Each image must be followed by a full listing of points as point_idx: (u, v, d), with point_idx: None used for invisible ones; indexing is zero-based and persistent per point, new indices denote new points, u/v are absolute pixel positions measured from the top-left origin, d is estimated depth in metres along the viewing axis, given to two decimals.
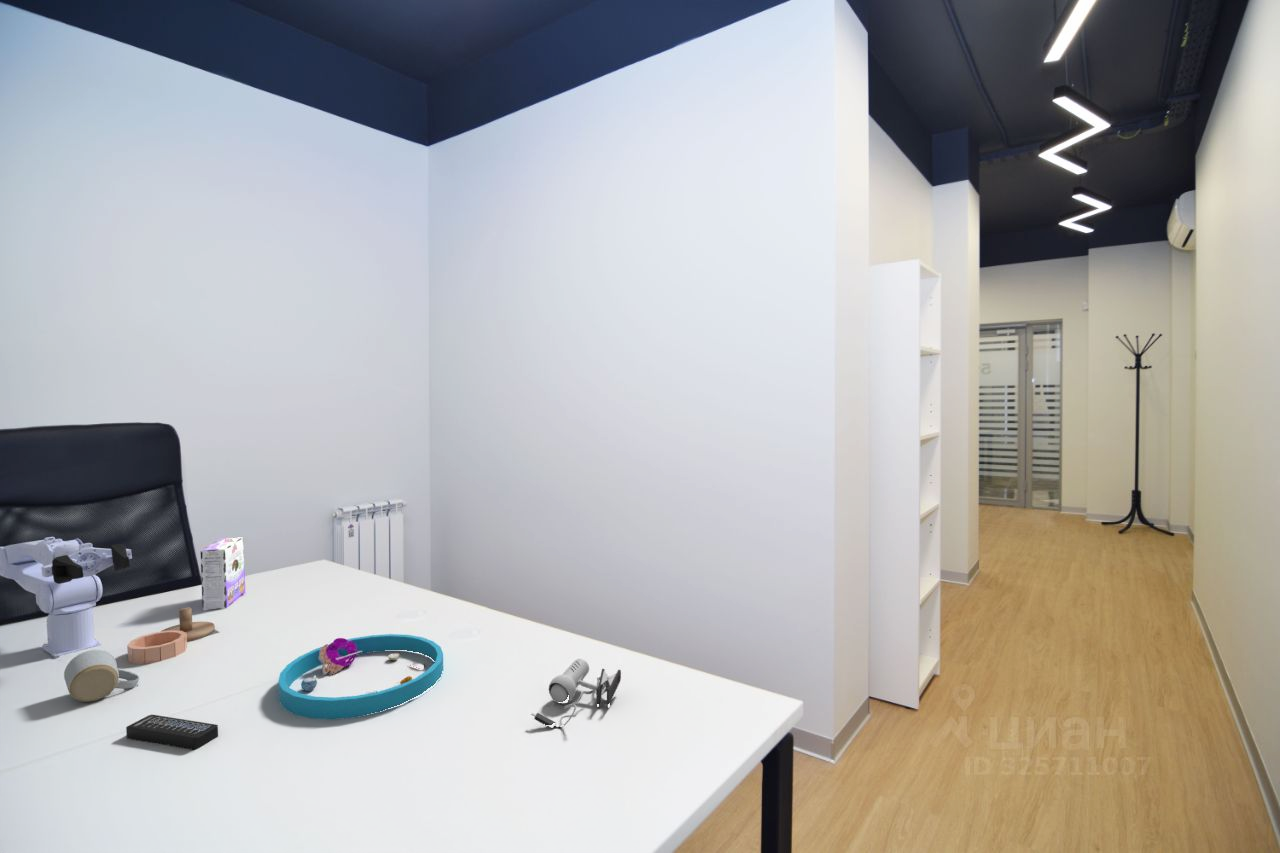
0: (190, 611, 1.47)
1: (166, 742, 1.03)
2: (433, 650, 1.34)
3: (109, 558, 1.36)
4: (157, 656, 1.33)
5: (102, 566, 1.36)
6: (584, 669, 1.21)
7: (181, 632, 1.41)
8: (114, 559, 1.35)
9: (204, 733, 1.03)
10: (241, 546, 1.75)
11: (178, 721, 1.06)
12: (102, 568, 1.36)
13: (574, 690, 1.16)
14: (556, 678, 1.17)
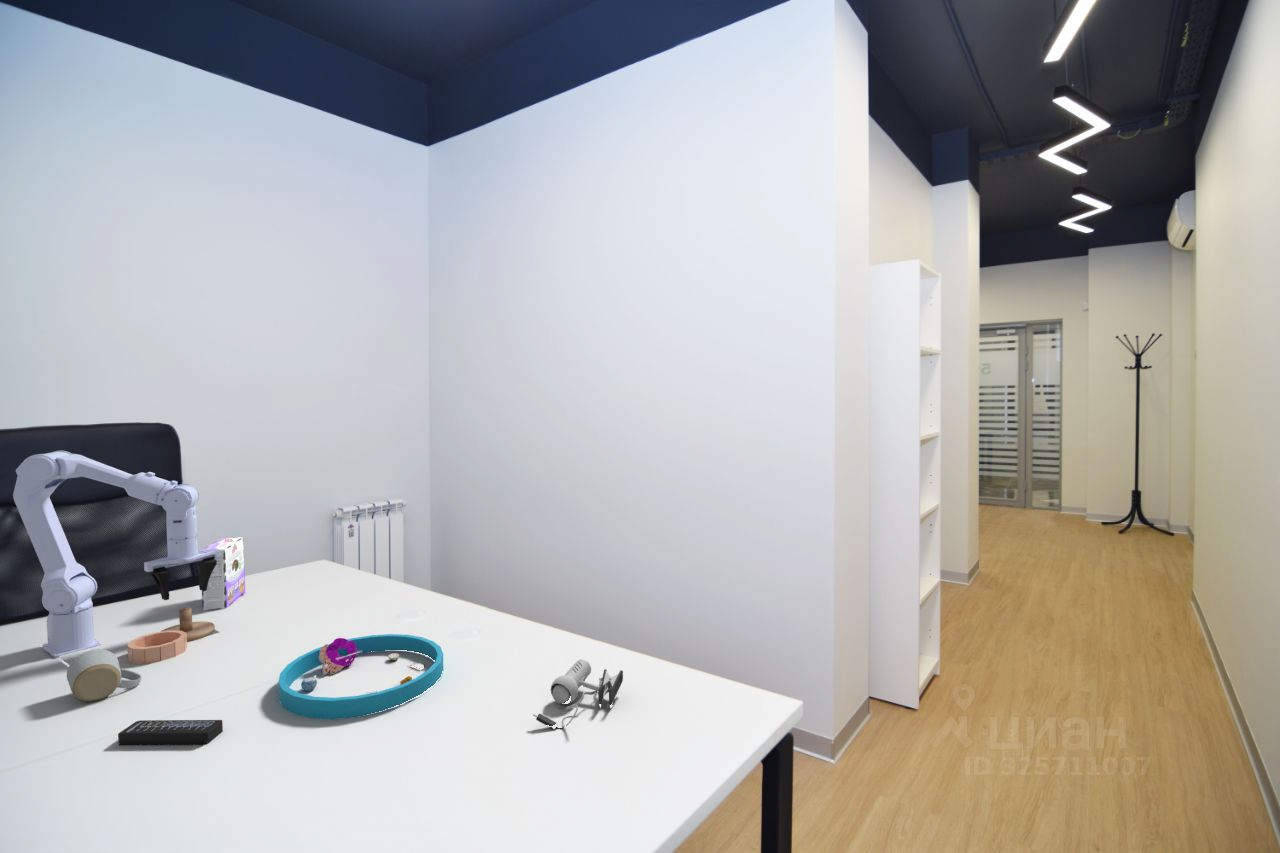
0: (190, 611, 1.47)
1: (170, 742, 1.03)
2: (433, 650, 1.34)
3: None
4: (157, 656, 1.33)
5: None
6: (586, 670, 1.21)
7: (181, 632, 1.41)
8: (201, 565, 1.50)
9: (212, 728, 1.04)
10: (241, 546, 1.75)
11: (175, 722, 1.06)
12: None
13: (576, 691, 1.16)
14: (558, 679, 1.17)
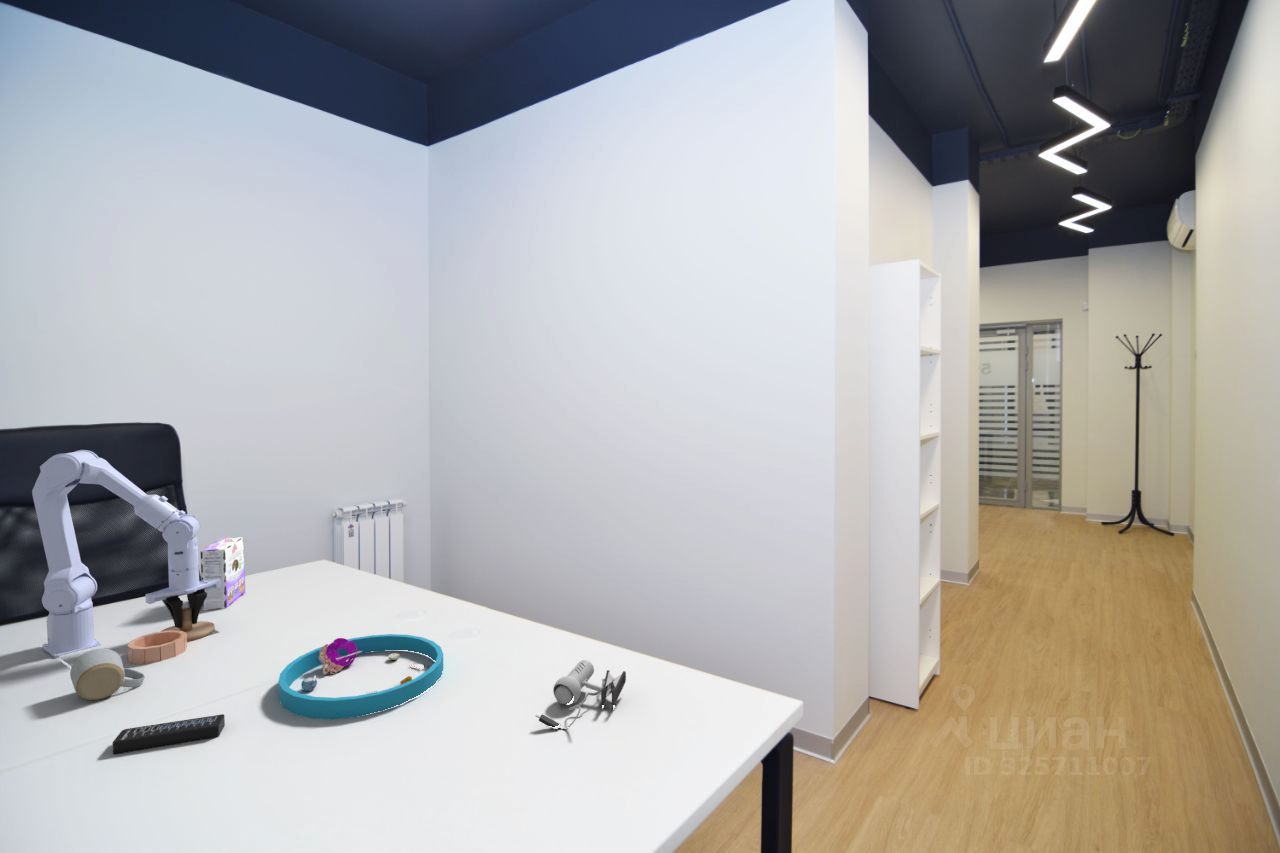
0: (190, 611, 1.47)
1: (177, 741, 1.03)
2: (433, 650, 1.34)
3: None
4: (157, 656, 1.33)
5: None
6: (589, 671, 1.21)
7: (181, 632, 1.41)
8: (191, 598, 1.48)
9: (220, 721, 1.07)
10: (241, 546, 1.75)
11: (171, 724, 1.06)
12: None
13: (579, 691, 1.16)
14: (561, 679, 1.16)
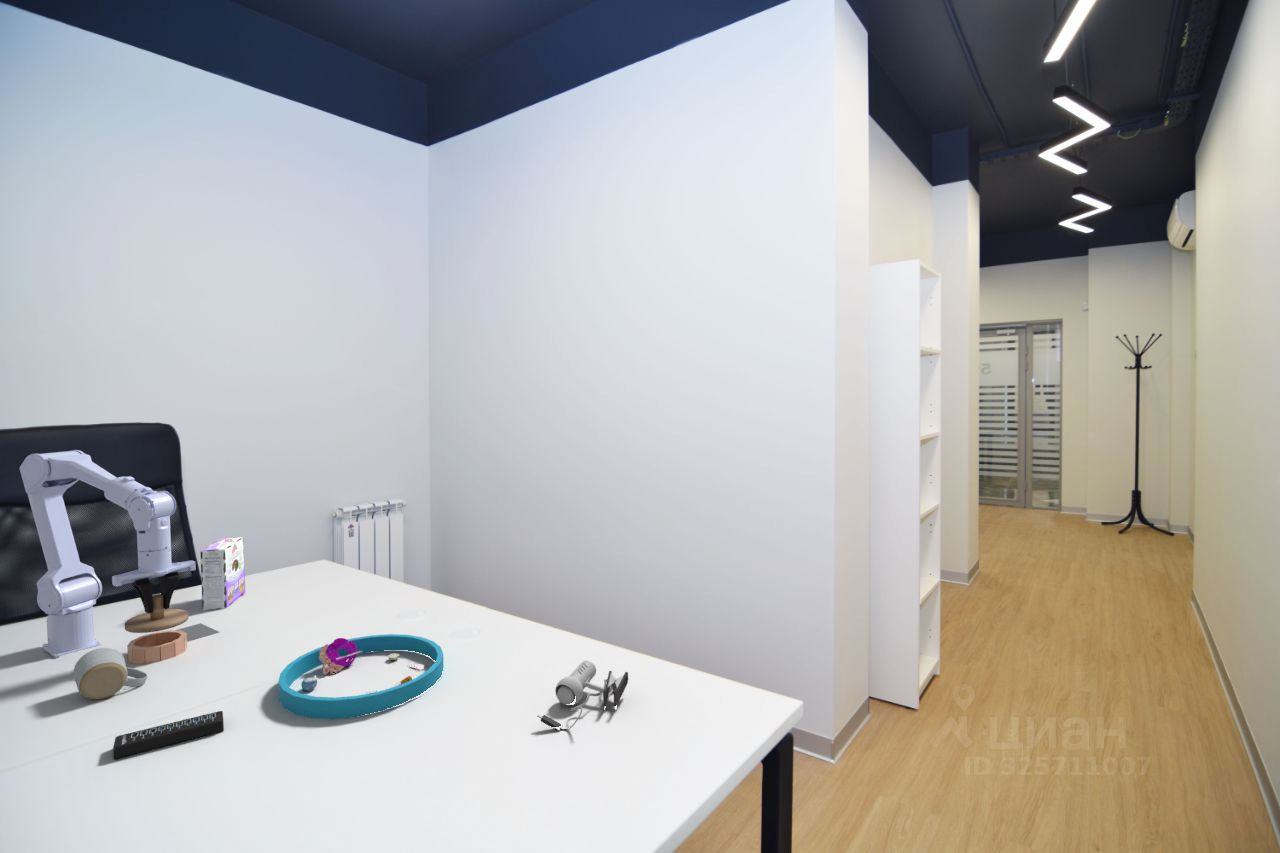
0: (161, 598, 1.36)
1: (181, 739, 1.03)
2: (433, 650, 1.34)
3: None
4: (157, 656, 1.33)
5: None
6: (591, 671, 1.21)
7: (181, 632, 1.41)
8: (163, 581, 1.38)
9: (222, 717, 1.08)
10: (241, 546, 1.75)
11: (168, 725, 1.05)
12: None
13: (581, 692, 1.16)
14: (563, 680, 1.16)
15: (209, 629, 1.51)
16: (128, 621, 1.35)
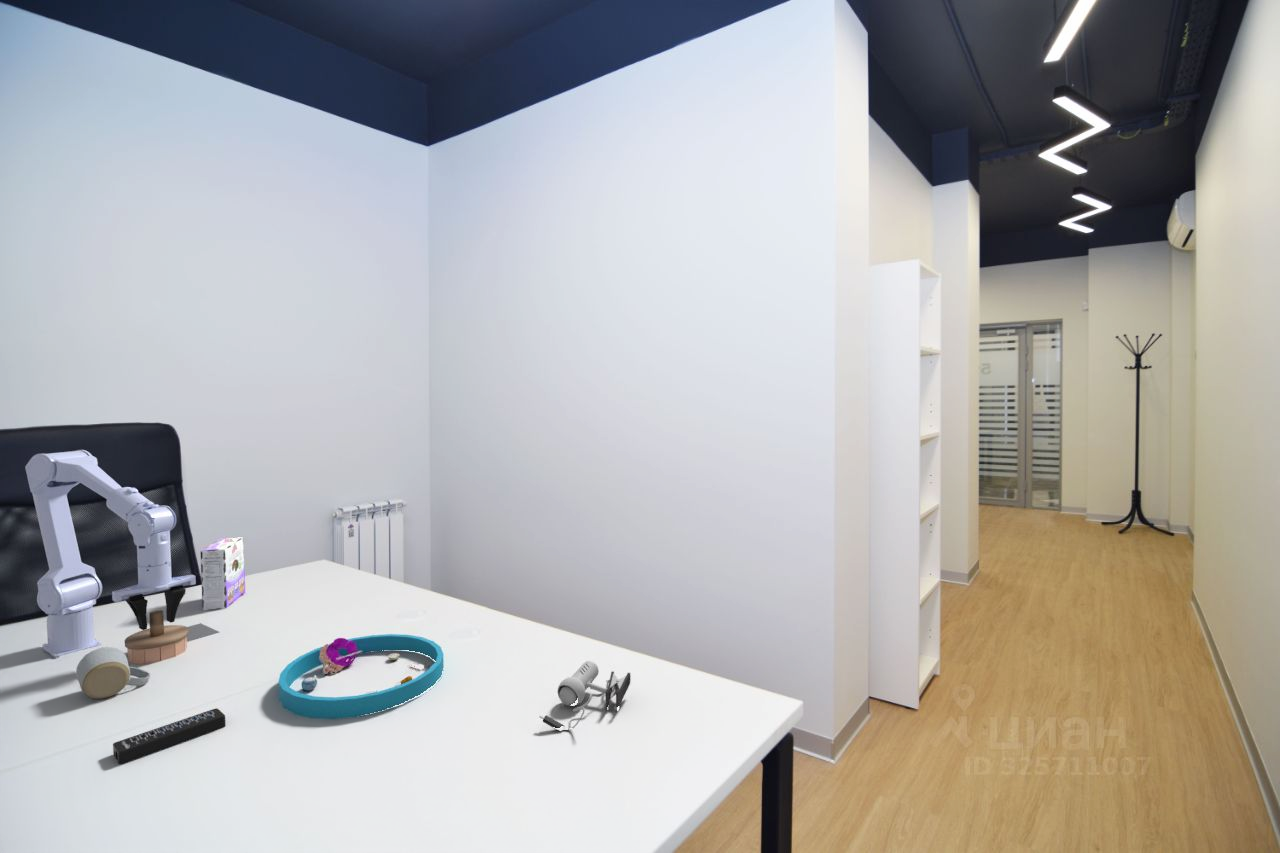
0: (161, 614, 1.37)
1: (186, 738, 1.04)
2: (433, 650, 1.34)
3: None
4: (157, 656, 1.33)
5: None
6: (593, 672, 1.20)
7: None
8: (168, 594, 1.38)
9: (221, 713, 1.09)
10: (241, 546, 1.75)
11: (166, 727, 1.05)
12: None
13: (583, 693, 1.15)
14: (565, 680, 1.16)
15: (209, 629, 1.51)
16: (128, 638, 1.35)
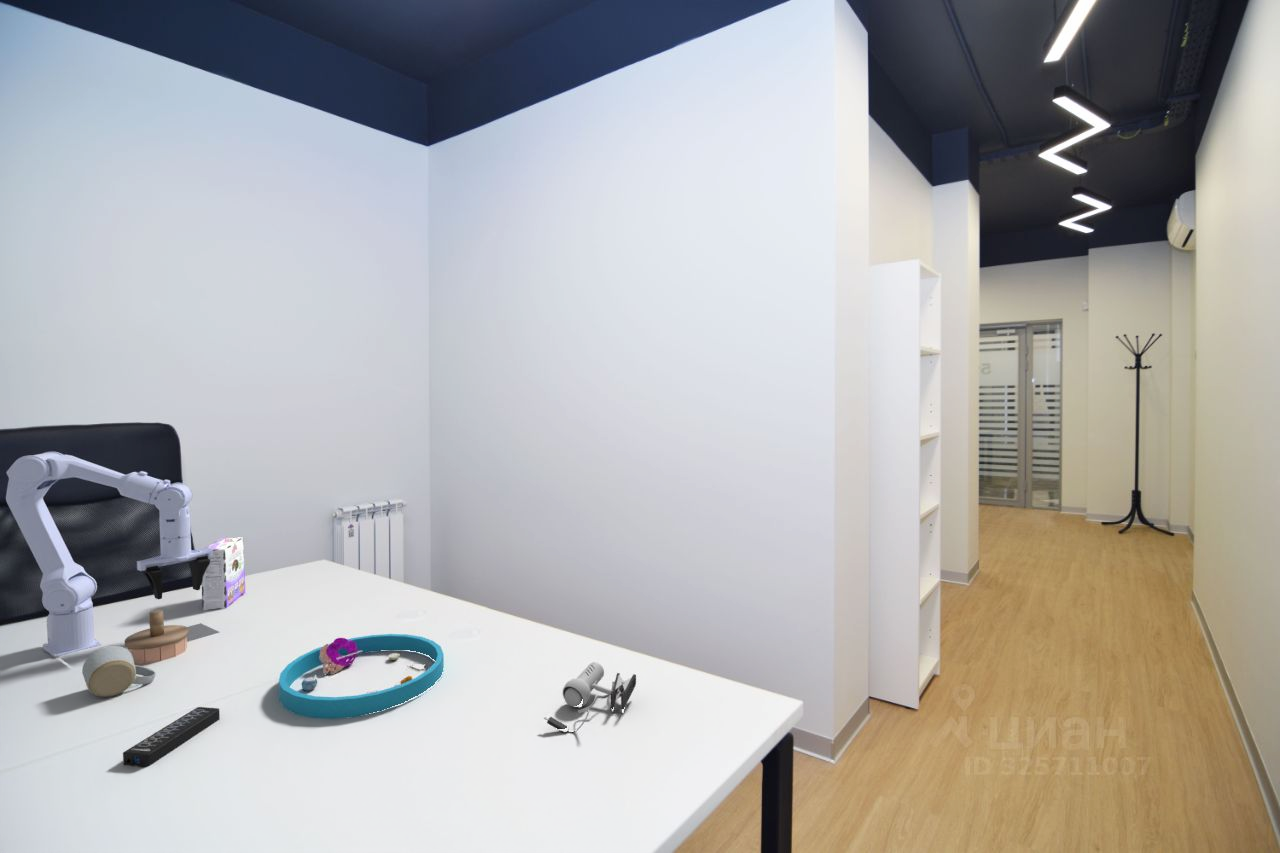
0: (161, 614, 1.37)
1: (193, 733, 1.05)
2: (433, 650, 1.34)
3: None
4: (157, 656, 1.33)
5: None
6: (599, 673, 1.20)
7: None
8: (194, 564, 1.49)
9: (211, 708, 1.11)
10: (241, 546, 1.75)
11: (164, 729, 1.04)
12: None
13: (588, 694, 1.15)
14: (570, 682, 1.15)
15: (209, 629, 1.51)
16: (128, 638, 1.35)
